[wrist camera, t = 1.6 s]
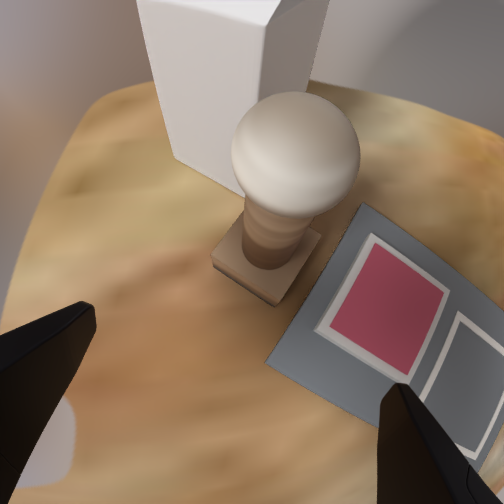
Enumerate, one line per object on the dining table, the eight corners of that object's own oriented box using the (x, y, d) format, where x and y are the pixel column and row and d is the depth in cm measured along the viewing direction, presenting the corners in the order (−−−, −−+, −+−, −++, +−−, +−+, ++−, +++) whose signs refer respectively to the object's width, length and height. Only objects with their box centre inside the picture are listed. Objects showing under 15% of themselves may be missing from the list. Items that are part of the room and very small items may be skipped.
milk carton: (224, 105, 26) (223, -98, 8) (293, 140, 26) (349, -77, 8) (173, 159, 25) (121, -72, 6) (247, 201, 24) (275, -66, 6)
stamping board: (473, 471, 17) (485, 476, 16) (264, 362, 20) (267, 363, 19) (528, 339, 21) (540, 337, 20) (360, 205, 24) (368, 195, 22)
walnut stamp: (274, 307, 21) (349, 225, 7) (213, 267, 22) (182, 126, 8) (311, 249, 23) (407, 111, 9) (253, 212, 23) (278, 43, 9)
